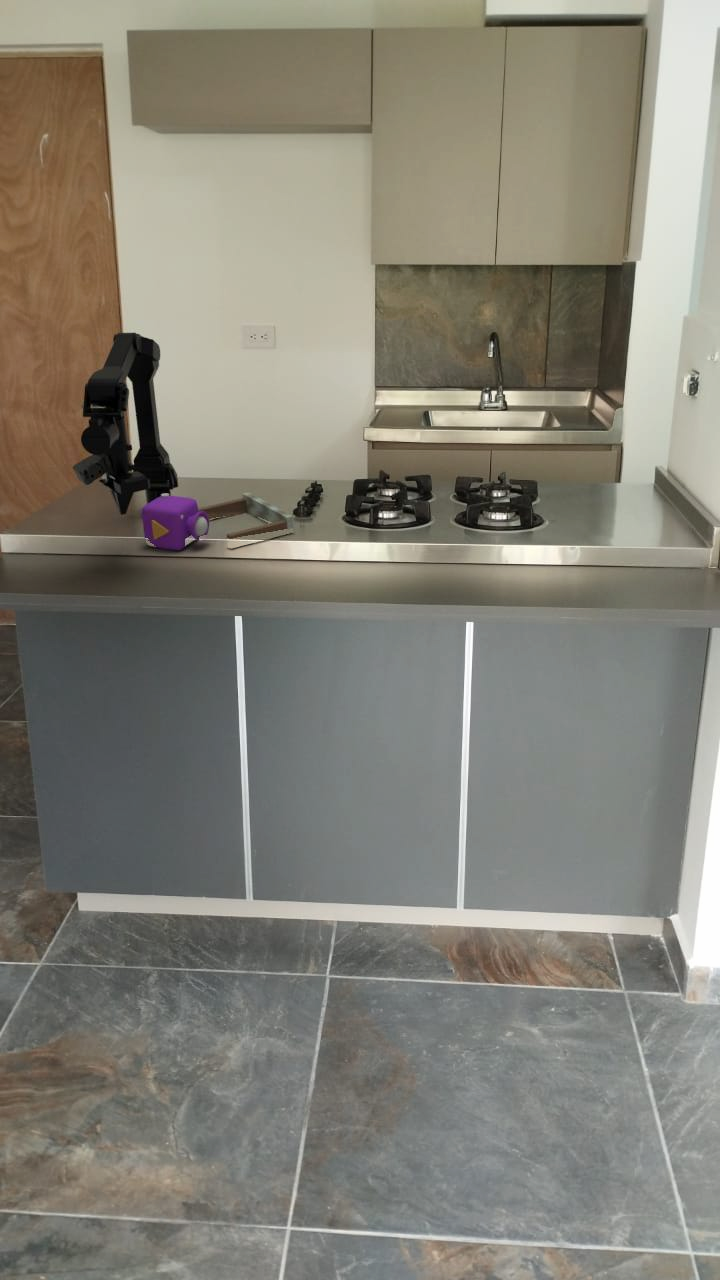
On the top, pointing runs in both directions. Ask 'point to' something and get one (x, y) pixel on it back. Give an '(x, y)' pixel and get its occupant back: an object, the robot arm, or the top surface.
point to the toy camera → (173, 521)
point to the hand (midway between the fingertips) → (122, 514)
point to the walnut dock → (255, 508)
